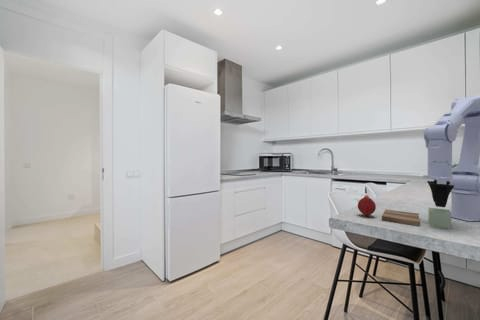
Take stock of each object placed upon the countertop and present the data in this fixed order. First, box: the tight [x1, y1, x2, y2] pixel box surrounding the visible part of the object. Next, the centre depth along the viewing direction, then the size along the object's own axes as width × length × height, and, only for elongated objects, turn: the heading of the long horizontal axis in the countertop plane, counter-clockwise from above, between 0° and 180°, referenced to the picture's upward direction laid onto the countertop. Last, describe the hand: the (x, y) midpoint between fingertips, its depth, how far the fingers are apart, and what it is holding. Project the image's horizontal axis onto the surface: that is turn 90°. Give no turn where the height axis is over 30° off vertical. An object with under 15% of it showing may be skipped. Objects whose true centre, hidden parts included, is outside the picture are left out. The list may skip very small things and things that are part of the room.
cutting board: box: [381, 209, 420, 227], centre depth 76 cm, size 12×10×2 cm
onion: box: [357, 194, 377, 217], centre depth 80 cm, size 6×6×8 cm
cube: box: [427, 207, 452, 230], centre depth 69 cm, size 5×5×5 cm
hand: (439, 204), depth 69 cm, fingers open, 7 cm apart
